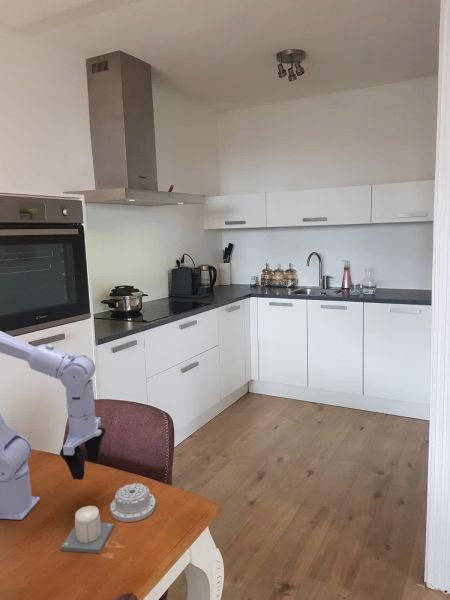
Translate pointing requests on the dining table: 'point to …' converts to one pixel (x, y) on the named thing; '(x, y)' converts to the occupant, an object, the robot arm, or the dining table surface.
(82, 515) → the wire nut
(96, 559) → the dining table surface
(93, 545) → the plate
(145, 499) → the mechanical component
